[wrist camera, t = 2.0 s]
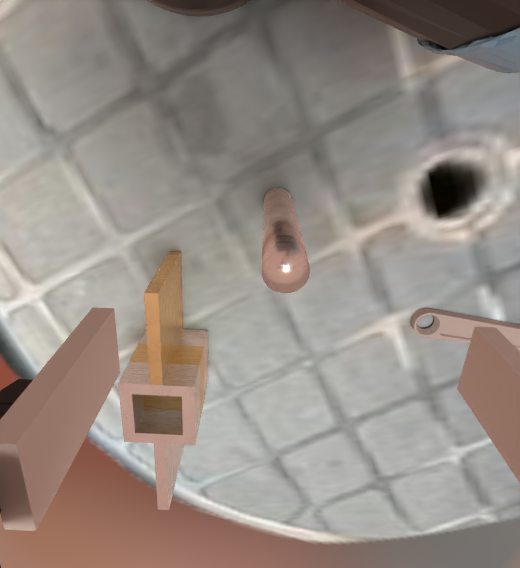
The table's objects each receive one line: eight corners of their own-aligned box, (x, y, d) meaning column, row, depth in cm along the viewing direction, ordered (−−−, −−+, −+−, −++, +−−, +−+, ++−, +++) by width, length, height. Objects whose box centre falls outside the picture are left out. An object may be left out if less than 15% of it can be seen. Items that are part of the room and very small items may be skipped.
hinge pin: (264, 187, 37) (263, 247, 22) (293, 188, 37) (311, 249, 22) (262, 215, 38) (260, 291, 23) (291, 217, 38) (307, 294, 23)
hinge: (142, 250, 39) (109, 291, 31) (208, 253, 39) (192, 295, 31) (154, 437, 48) (130, 508, 39) (208, 439, 48) (196, 511, 40)
